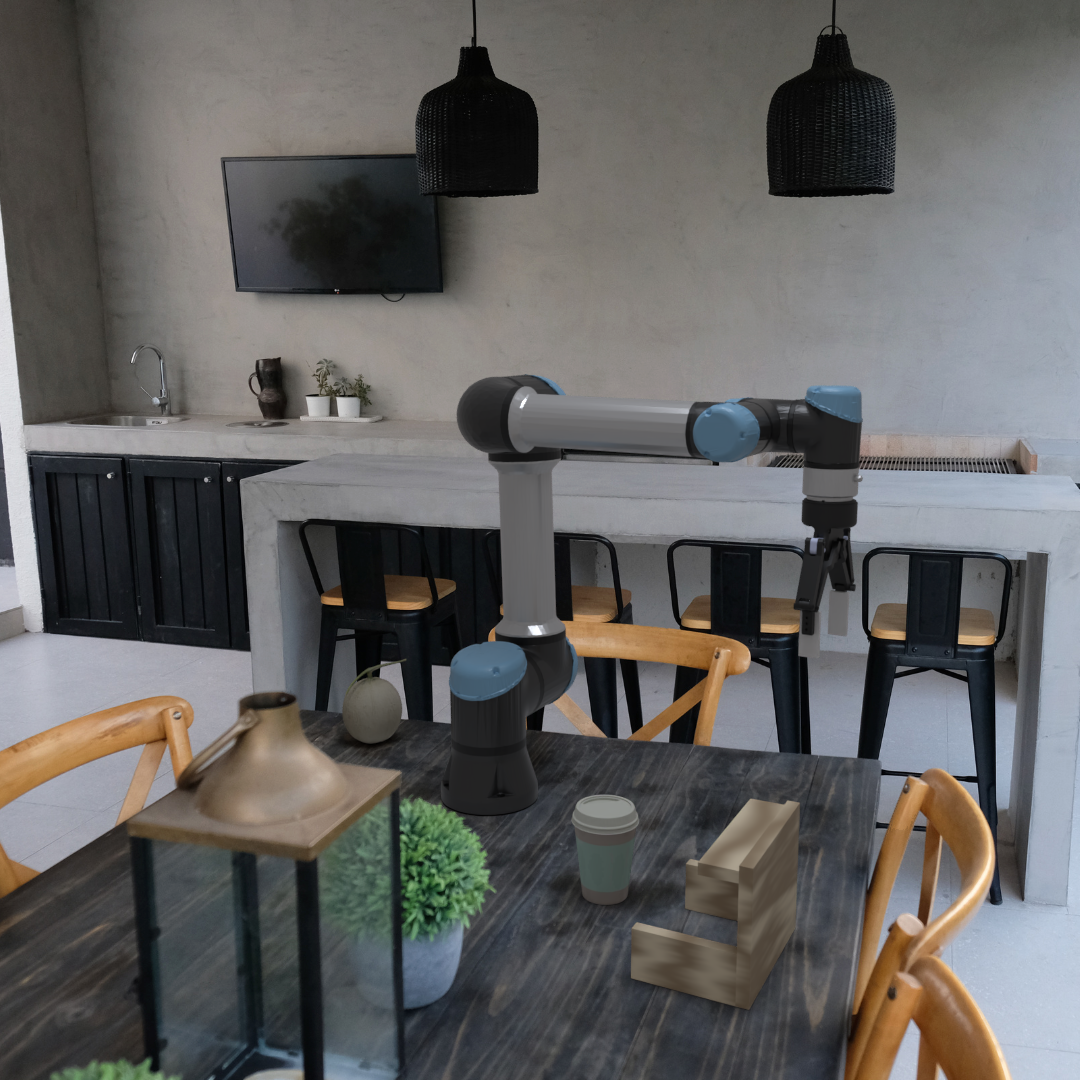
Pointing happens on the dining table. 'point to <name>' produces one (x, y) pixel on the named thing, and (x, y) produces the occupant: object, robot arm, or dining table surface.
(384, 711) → the fruit
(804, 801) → the dining table surface
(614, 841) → the coffee cup
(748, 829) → the nook
